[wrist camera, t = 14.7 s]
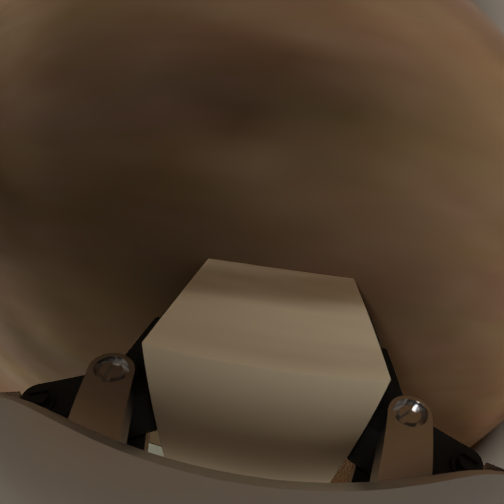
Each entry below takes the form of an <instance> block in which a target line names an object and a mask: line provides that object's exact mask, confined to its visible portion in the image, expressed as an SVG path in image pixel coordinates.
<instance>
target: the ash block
mask: <svg viewBox="0 0 504 504" xmlns="http://www.w3.org/2000/svg"><path fill="white" fill-rule="evenodd" d="M142 348H143V355H144V362H145V368H146V374H147V380H148V386H149V391H150V397H151V402H152V407H153V412H154V416H155V421H156V425H157V430H158V434H159V438H160V442H161V446H162V450H163V454H164V457H166V458H170V459H173V460H177V461H180V462H184V463H188V464H192V465H196V466H200V467H204V468H209V469H213V470H218V471H223V472H228V473H234V474H239V475H245V476H252V477H259V478H267V479H276V480H286V481H299V482H319V483H330V481H331V480H332V479H333V477H334V476H335V474H336V473H337V472H338V470H339V469H340V467H341V466H342V464H343V463H344V461H345V460H346V458H347V457H348V455H349V454H350V452H351V451H352V449H353V447H354V446H355V444H356V443H357V441H358V439H359V438H360V436H361V434H362V433H363V431H364V429H365V428H366V426H367V424H368V422H369V421H370V419H371V417H372V415H373V413H374V412H375V410H376V408H377V406H378V404H379V402H380V400H381V398H382V396H383V395H384V393H385V391H386V389H387V387H388V385H389V382H390V380H391V378H390V375H389V372H388V369H387V366H386V363H385V360H384V357H383V354H382V351H381V348H380V346H379V343H378V340H377V337H376V334H375V332H374V329H373V326H372V323H371V321H370V318H369V315H368V313H367V310H366V308H365V305H364V302H363V300H362V297H361V295H360V292H359V290H358V287H357V285H356V282H355V280H354V279H353V278H345V277H338V276H330V275H323V274H315V273H308V272H301V271H293V270H286V269H279V268H272V267H265V266H258V265H250V264H243V263H236V262H229V261H223V260H216V259H209V258H208V260H207V261H206V262H205V263H204V265H203V266H202V267H201V268H200V269H199V271H198V272H197V273H196V274H195V276H194V277H193V278H192V279H191V281H190V282H189V283H188V284H187V286H186V287H185V288H184V289H183V291H182V292H181V293H180V294H179V296H178V297H177V298H176V299H175V301H174V302H173V303H172V305H171V306H170V307H169V308H168V310H167V311H166V312H165V313H164V315H163V316H162V317H161V319H160V320H159V321H158V322H157V324H156V325H155V326H154V328H153V329H152V330H151V331H150V333H149V334H148V335H147V337H146V338H145V339H144V340H143V342H142Z"/></svg>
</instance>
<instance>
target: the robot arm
mask: <svg viewBox="0 0 504 504" xmlns="http://www.w3.org/2000/svg"><path fill="white" fill-rule="evenodd" d="M182 291H183V290H182ZM182 291H181V292H182ZM181 292H180V293H181ZM178 296H179V295H178ZM178 296H177V297H178ZM177 297H176V298H177ZM174 301H175V300H174ZM174 301H173V302H174ZM173 302H172V303H173ZM171 305H172V304H171ZM171 305H170V306H171ZM170 306H169V307H170ZM169 307H168V308H169ZM167 310H168V309H167ZM167 310H166V311H167ZM166 311H165V312H166ZM165 312H164V313H165ZM367 313H368V312H367ZM163 315H164V314H163ZM163 315H162V316H163ZM368 315H369V313H368ZM162 316H161V317H162ZM161 317H156V318H155V319H154V320H153V321H152V323H151V324H150V325H149V326H148V328H147V329H146V330H145V331H144V333H143V334H142V335H141V336H140V338H139V339H138V340H137V341H136V343H135V344H134V345H133V346H132V348H131V349H130V350H129V351H128V353H127V354H126V355H123V354H118V353H108V354H103V355H101V356H98V357H96V358H95V359H94V360H93V361H92V362H91V363H90V365H89V367H88V369H87V371H86V374H85V375H83V376H78V377H74V378H69V379H64V380H59V381H54V382H48V383H43V384H38V385H34V386H32V387H30V388H28V389H27V390H26V391H25V392H24V393H23V395H21V393H20V391H19V392H0V504H504V469H502V468H499V467H497V466H494V465H492V464H489V463H486V464H485V465H483V462H482V460H481V457H480V456H479V455H478V453H476V452H475V451H474V450H472V449H471V448H469V447H467V446H465V445H464V444H462V443H460V442H458V441H457V440H455V439H453V438H452V437H450V436H448V435H446V434H445V433H443V432H441V431H440V430H438V429H436V428H435V427H433V415H432V411H431V409H430V407H429V406H428V405H427V404H426V403H425V402H424V401H423V400H421V399H419V398H417V397H414V396H407V395H404V396H403V395H402V392H401V389H400V386H399V383H398V380H397V377H396V374H395V371H394V368H393V365H392V363H391V360H390V357H389V354H388V352H387V350H386V349H385V348H382V347H381V345H380V342H379V339H378V336H377V334H376V331H375V328H374V326H373V323H372V320H371V318H370V315H369V318H370V321H371V323H372V326H373V329H374V332H375V334H376V337H377V340H378V343H379V346H380V348H381V351H382V354H383V357H384V360H385V363H386V366H387V369H388V372H389V375H390V378H391V380H390V382H389V385H388V387H387V389H386V391H385V393H384V395H383V396H382V398H381V400H380V402H379V404H378V406H377V408H376V410H375V412H374V413H373V415H372V417H371V419H370V421H369V422H368V424H367V426H366V428H365V429H364V431H363V433H362V434H361V436H360V438H359V439H358V441H357V443H356V444H355V446H354V447H353V449H352V451H351V452H350V454H349V455H348V457H347V458H348V460H350V461H351V462H352V463H353V465H352V468H351V472H350V475H349V479H348V482H347V483H319V482H299V481H286V480H276V479H267V478H259V477H252V476H245V475H239V474H234V473H228V472H223V471H218V470H213V469H209V468H204V467H200V466H196V465H192V464H188V463H184V462H180V461H177V460H173V459H170V458H166V457H163V456H160V455H156V454H153V453H150V452H148V447H149V438H150V432H152V431H155V430H156V429H157V425H156V421H155V416H154V412H153V407H152V402H151V397H150V391H149V386H148V380H147V374H146V368H145V362H144V355H143V348H142V342H143V340H144V339H145V338H146V337H147V335H148V334H149V333H150V331H151V330H152V329H153V328H154V326H155V325H156V324H157V322H158V321H159V320H160V319H161Z"/></svg>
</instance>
